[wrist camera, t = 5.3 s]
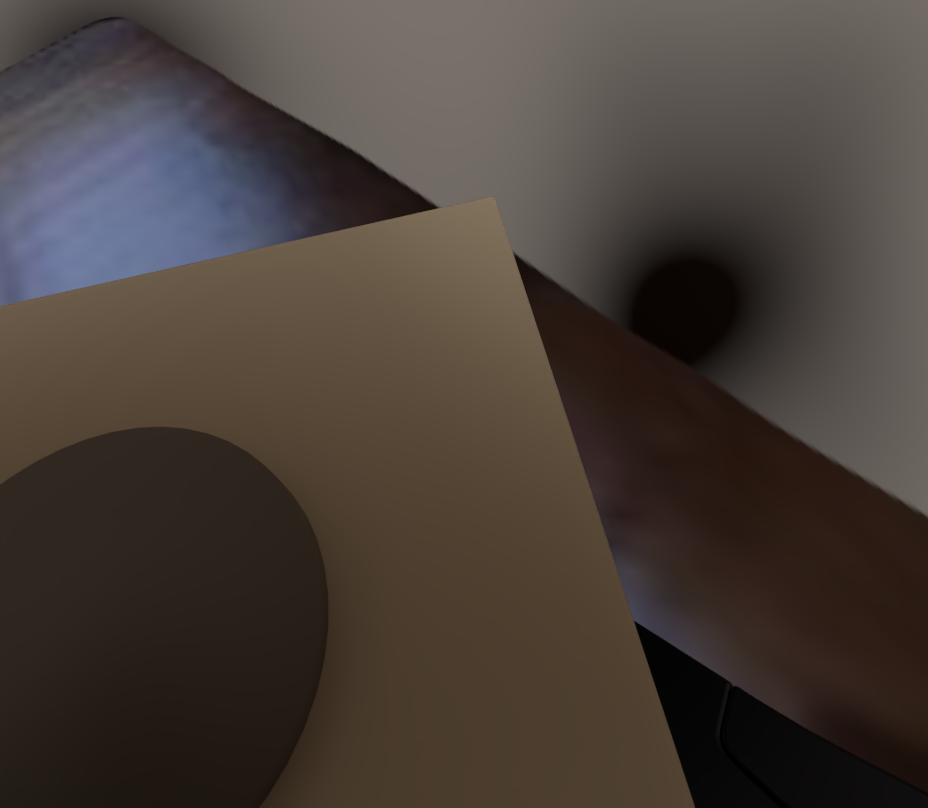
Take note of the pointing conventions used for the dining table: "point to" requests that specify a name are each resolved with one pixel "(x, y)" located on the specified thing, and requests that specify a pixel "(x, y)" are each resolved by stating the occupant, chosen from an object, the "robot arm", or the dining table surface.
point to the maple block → (311, 542)
